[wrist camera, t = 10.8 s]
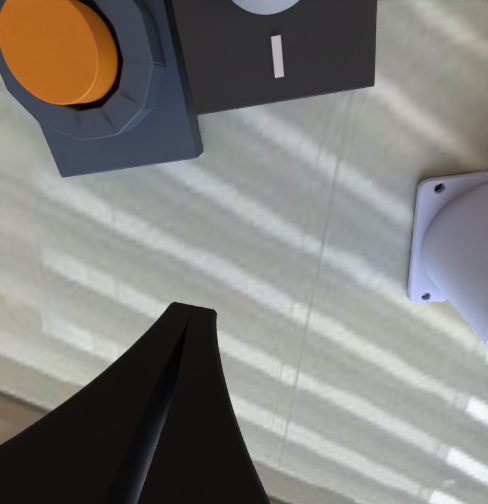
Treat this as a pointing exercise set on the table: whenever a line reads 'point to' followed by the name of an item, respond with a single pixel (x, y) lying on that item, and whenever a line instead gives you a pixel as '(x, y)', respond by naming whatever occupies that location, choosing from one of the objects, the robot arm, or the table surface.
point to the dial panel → (274, 51)
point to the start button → (58, 50)
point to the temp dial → (265, 5)
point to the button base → (124, 98)
